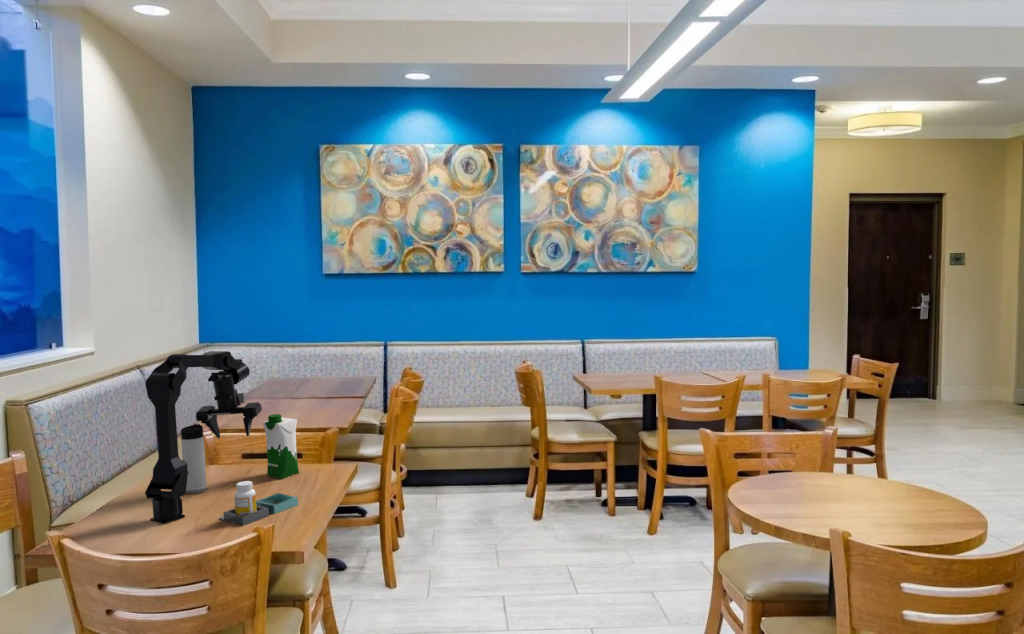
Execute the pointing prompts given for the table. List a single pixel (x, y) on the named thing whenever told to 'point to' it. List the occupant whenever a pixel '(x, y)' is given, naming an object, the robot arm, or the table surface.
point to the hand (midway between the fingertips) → (233, 436)
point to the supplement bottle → (245, 498)
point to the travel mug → (194, 458)
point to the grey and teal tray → (262, 509)
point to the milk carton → (281, 446)
